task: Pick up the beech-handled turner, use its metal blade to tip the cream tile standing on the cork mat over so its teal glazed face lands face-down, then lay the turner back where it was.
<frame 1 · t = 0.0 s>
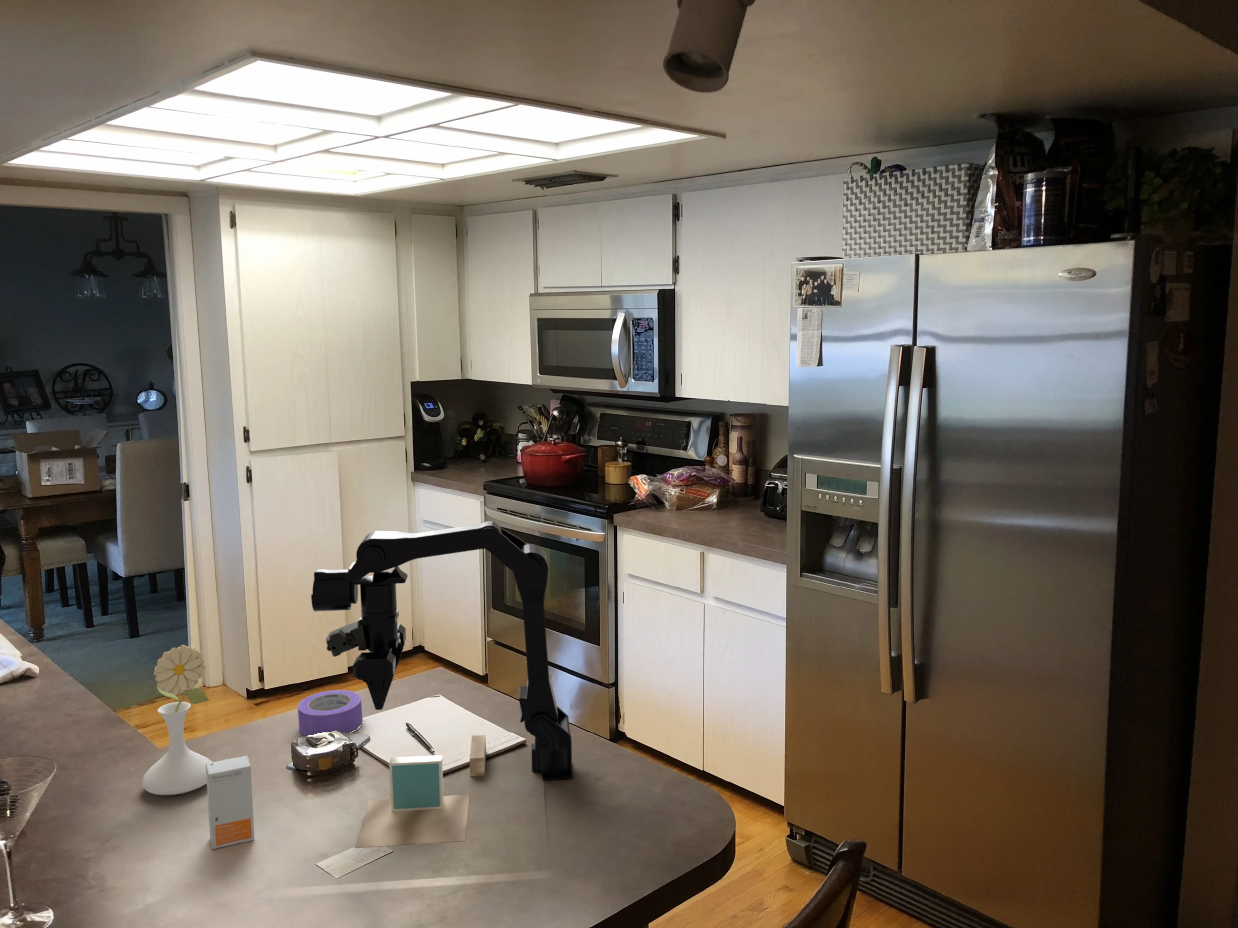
hand: (382, 698, 159), 15 cm above the counter, tool pointing down, fingers open, 9 cm apart
flower in vase: (184, 787, 160), on the counter
skincare box: (233, 839, 143), on the counter
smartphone: (329, 755, 172), on the counter
cork mat: (415, 824, 147), on the counter
tile: (417, 806, 151), point 1 cm above the counter, touching cork mat
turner: (478, 767, 166), on the counter
tape roll: (331, 727, 183), on the counter
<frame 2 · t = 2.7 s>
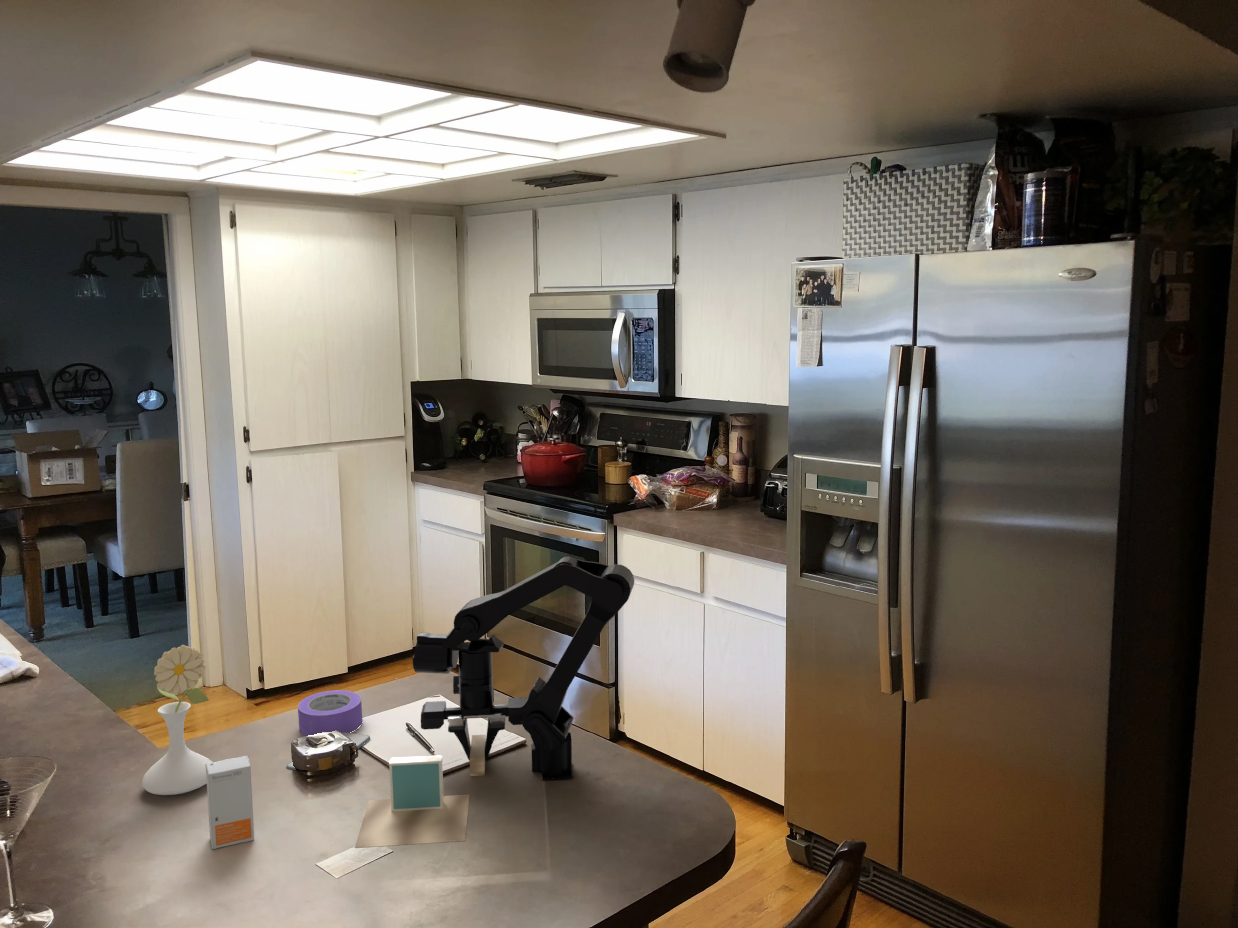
hand: (478, 759, 166), 2 cm above the counter, tool pointing down, fingers closed on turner, 2 cm apart
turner: (478, 767, 166), on the counter, touching gripper
everything else where it was.
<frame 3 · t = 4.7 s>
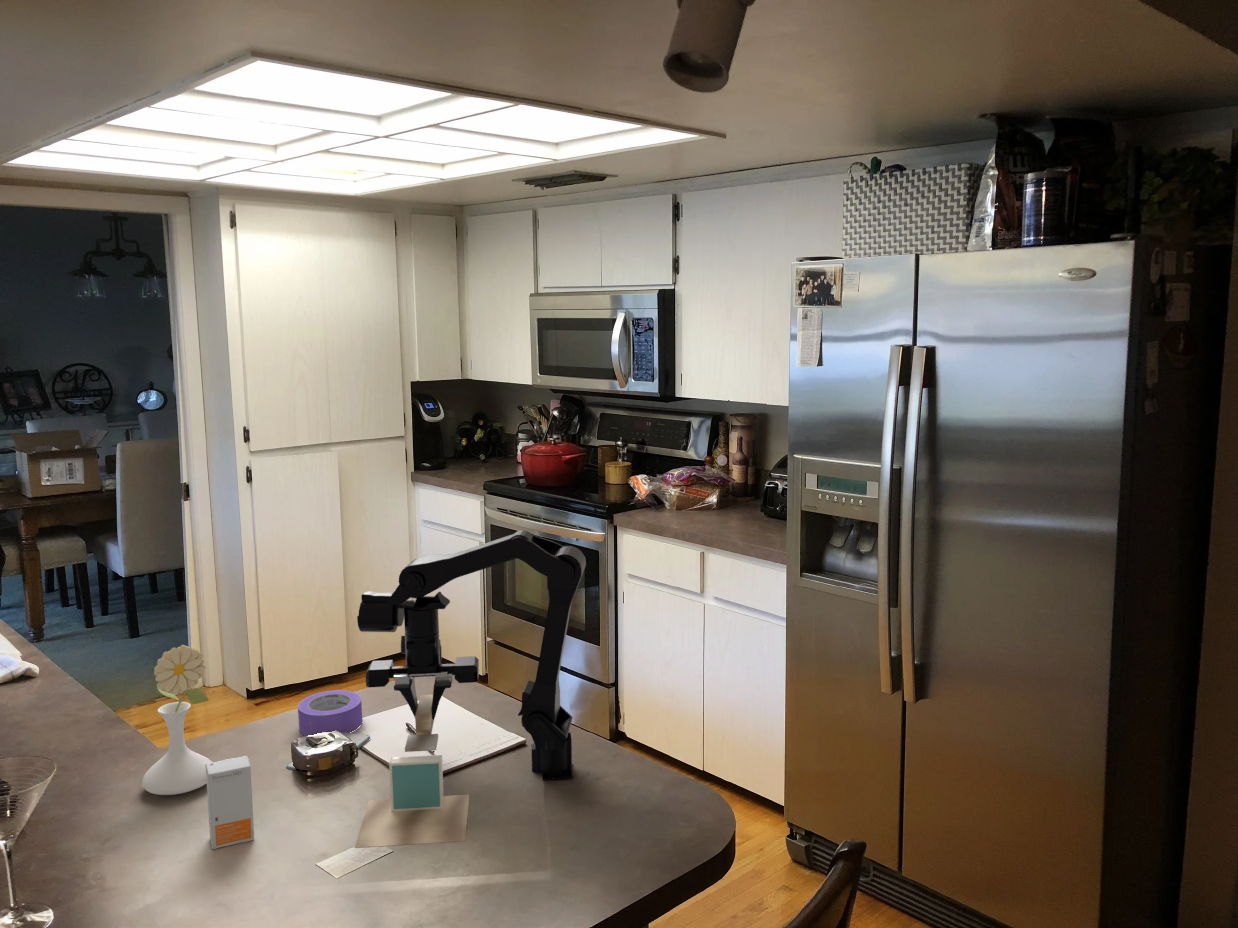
hand: (425, 718, 164), 9 cm above the counter, tool pointing down, fingers closed on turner, 2 cm apart
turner: (425, 726, 165), point 8 cm above the counter, touching gripper
everything else where it was.
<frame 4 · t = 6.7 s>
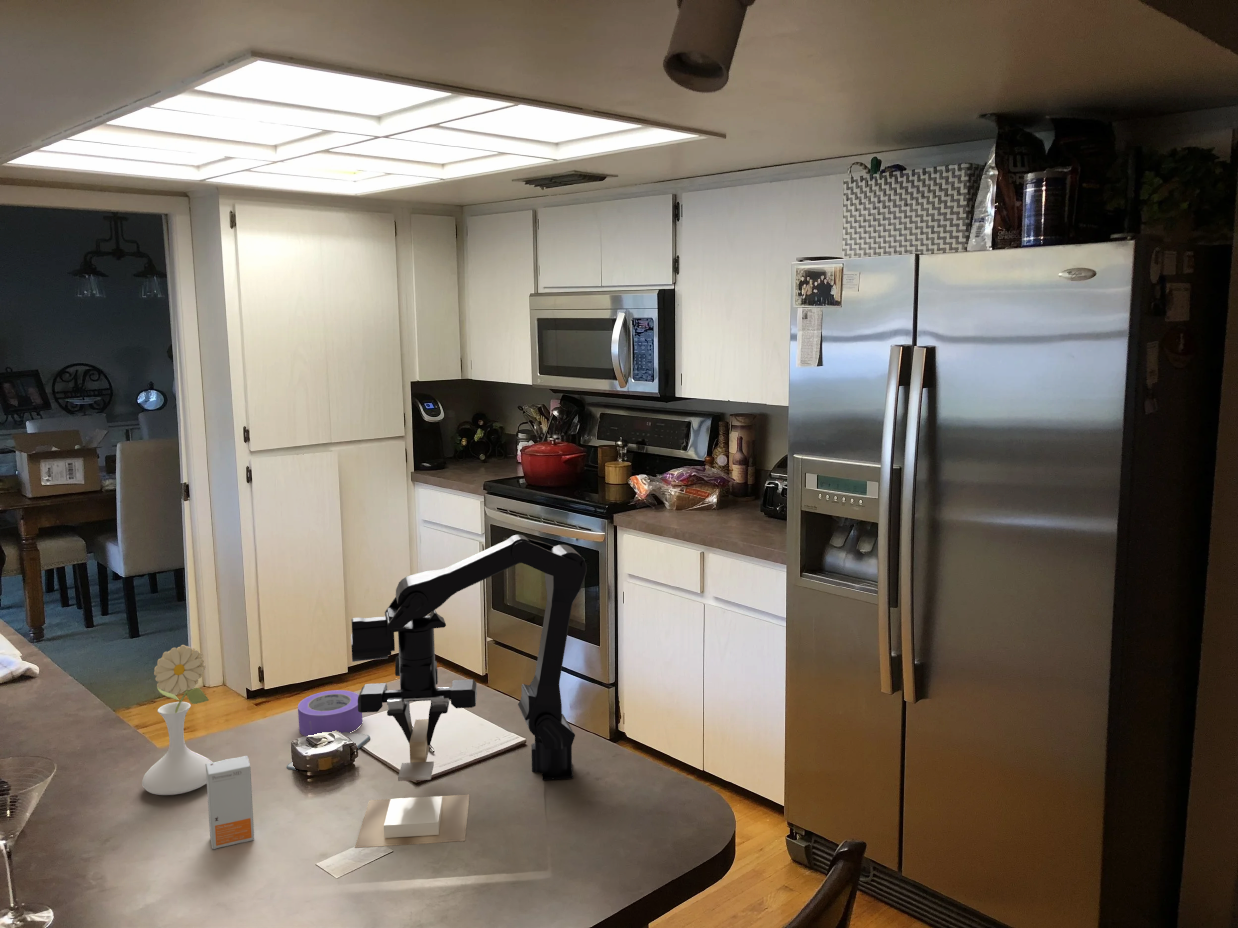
hand: (420, 744, 157), 8 cm above the counter, tool pointing down, fingers closed on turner, 2 cm apart
tile: (416, 803, 150), point 2 cm above the counter, tilted 90°, touching cork mat
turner: (420, 753, 157), point 6 cm above the counter, touching gripper
everything else where it was.
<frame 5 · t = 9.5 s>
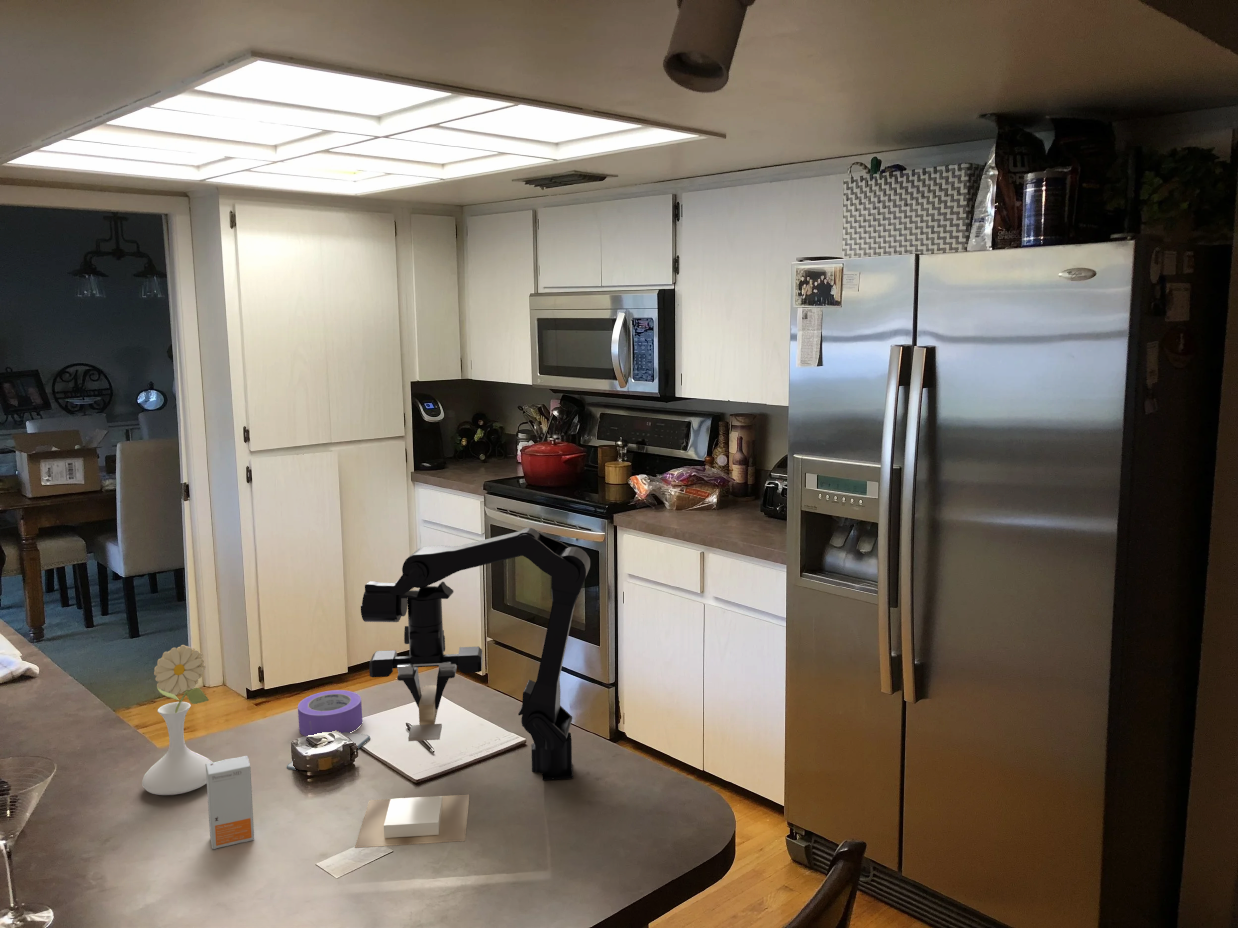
hand: (429, 708, 164), 11 cm above the counter, tool pointing down, fingers closed on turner, 2 cm apart
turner: (429, 716, 164), point 9 cm above the counter, touching gripper
everything else where it was.
when the fingers open (2 cm above the counter, at t = 11.8 s): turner drops 1 cm, on the counter.
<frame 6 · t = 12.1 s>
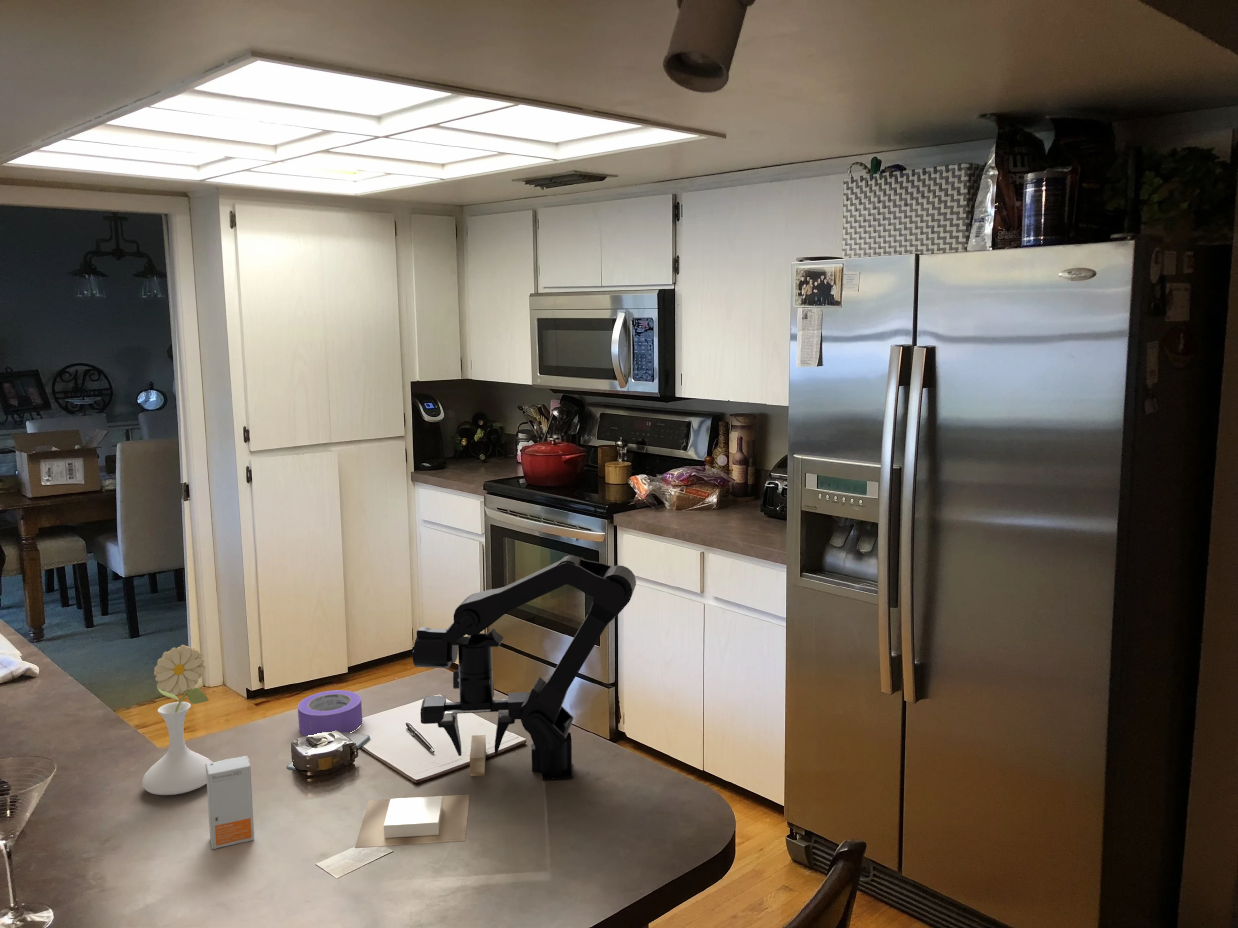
hand: (478, 753, 165), 2 cm above the counter, tool pointing down, fingers open, 6 cm apart
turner: (478, 767, 166), on the counter
everything else where it was.
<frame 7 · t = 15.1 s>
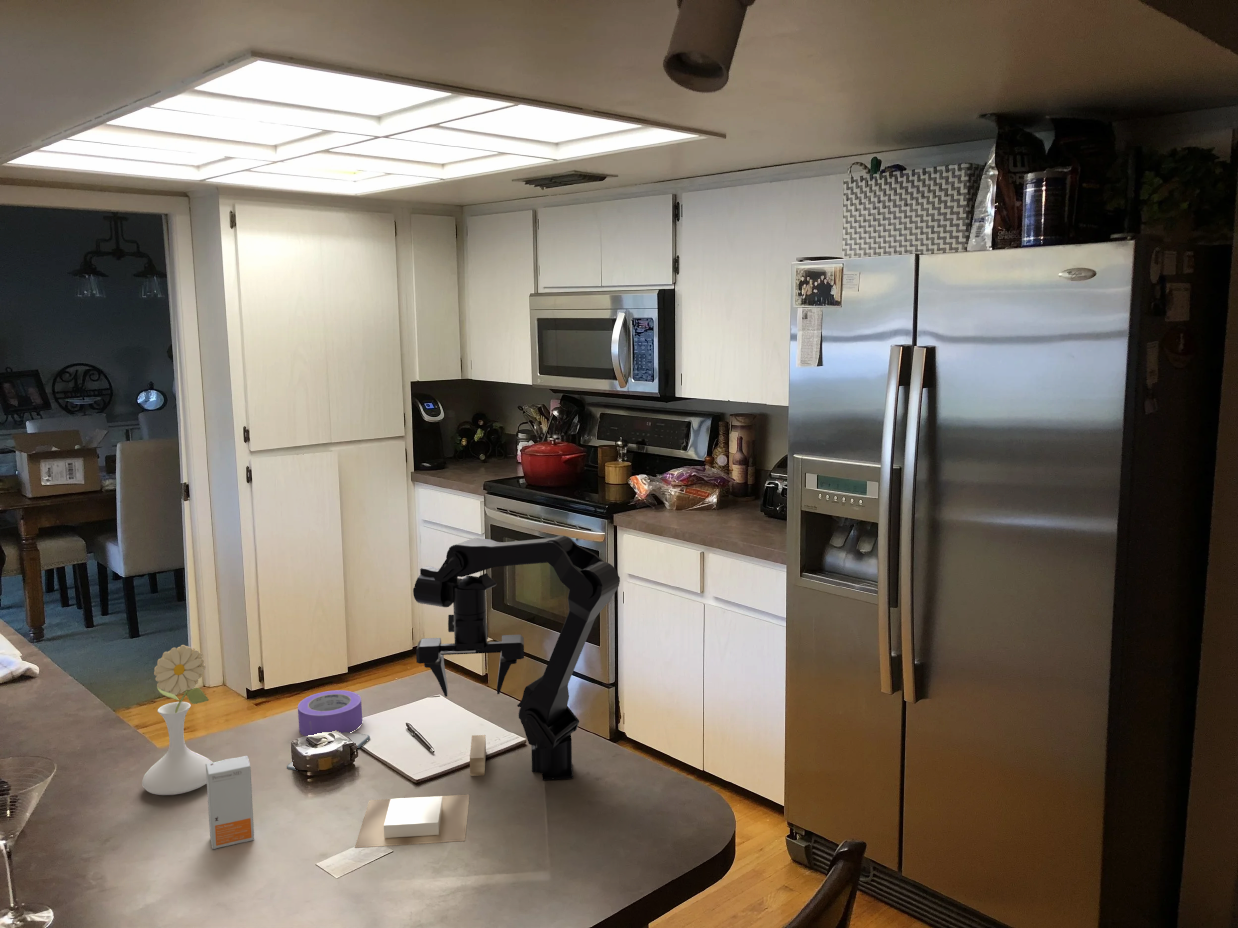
hand: (472, 694, 170), 11 cm above the counter, tool pointing down, fingers open, 9 cm apart
nothing on the counter moved.
at the end: tile tilted 90°; tile inside the target area on the cork mat (3.9 cm from its centre), point 1.9 cm above the cork mat's base; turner touching counter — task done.
